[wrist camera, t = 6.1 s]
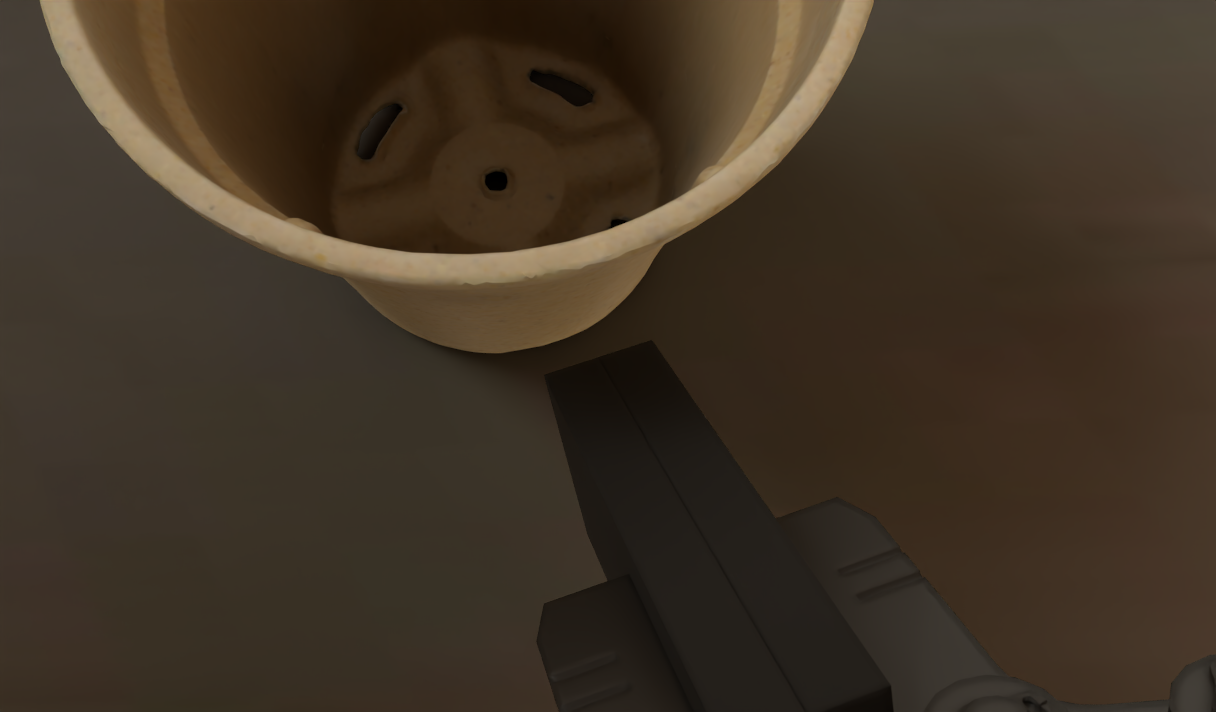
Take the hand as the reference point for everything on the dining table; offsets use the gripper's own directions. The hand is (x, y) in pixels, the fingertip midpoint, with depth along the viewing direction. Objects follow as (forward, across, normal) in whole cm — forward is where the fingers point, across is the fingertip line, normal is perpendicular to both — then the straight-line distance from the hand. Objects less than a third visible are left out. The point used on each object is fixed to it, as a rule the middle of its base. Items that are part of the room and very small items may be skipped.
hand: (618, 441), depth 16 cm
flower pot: (+7, 0, +1) cm, 7 cm away
